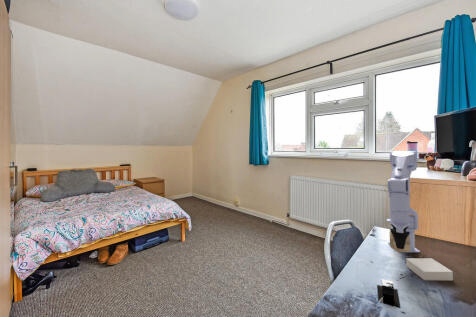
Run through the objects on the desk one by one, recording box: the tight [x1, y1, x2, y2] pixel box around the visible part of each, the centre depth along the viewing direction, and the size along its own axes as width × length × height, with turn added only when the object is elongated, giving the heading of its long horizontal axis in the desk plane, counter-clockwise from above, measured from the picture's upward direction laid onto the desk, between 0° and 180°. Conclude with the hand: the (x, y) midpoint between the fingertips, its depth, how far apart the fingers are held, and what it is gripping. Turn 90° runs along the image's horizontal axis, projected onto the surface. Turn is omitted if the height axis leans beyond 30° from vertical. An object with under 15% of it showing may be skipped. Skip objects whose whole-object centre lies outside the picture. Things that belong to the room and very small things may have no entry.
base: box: [405, 257, 454, 281], centre depth 78 cm, size 9×9×3 cm
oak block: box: [389, 231, 411, 253], centre depth 82 cm, size 4×4×6 cm
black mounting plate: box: [376, 278, 401, 309], centre depth 67 cm, size 12×7×5 cm, turn 148°
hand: (399, 244), depth 82 cm, fingers closed on oak block, 6 cm apart
